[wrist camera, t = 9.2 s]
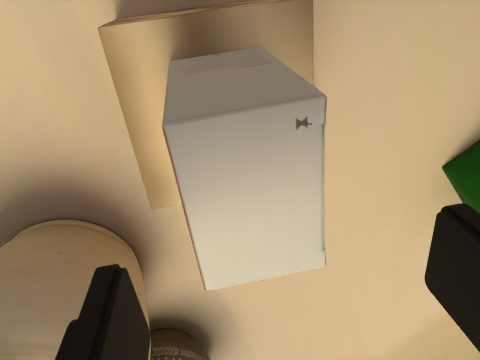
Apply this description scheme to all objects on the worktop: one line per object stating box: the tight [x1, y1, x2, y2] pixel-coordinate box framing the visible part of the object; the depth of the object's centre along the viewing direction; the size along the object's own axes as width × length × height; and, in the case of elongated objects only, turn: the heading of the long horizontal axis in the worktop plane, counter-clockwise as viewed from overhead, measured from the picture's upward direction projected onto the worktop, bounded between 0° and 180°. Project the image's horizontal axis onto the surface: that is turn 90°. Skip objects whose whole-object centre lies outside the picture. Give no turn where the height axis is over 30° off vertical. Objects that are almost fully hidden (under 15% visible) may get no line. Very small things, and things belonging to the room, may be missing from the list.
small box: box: [162, 47, 327, 291], centre depth 17 cm, size 8×6×10 cm
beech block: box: [98, 0, 314, 210], centre depth 24 cm, size 12×12×6 cm
